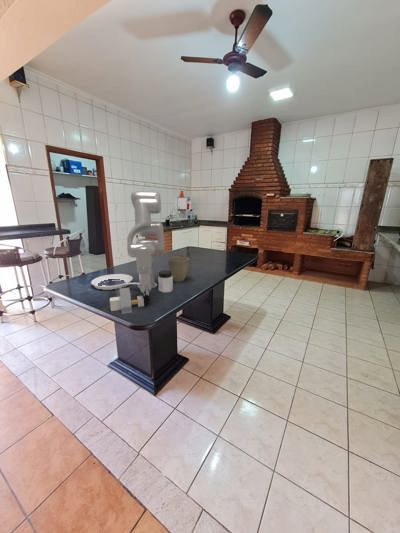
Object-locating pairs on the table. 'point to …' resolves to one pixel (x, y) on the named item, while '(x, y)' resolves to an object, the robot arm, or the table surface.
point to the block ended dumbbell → (116, 303)
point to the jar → (165, 281)
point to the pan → (113, 276)
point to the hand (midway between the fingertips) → (146, 301)
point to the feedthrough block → (125, 300)
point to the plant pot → (178, 267)
